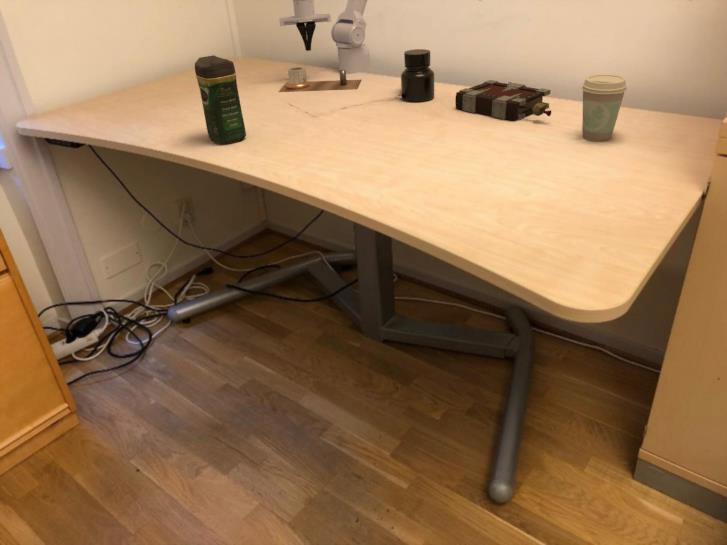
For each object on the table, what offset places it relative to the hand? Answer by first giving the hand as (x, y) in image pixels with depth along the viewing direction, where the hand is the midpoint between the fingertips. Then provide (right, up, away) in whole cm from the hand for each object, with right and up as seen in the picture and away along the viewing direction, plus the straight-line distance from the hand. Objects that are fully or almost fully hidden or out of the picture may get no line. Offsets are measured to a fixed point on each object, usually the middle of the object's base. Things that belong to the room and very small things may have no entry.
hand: (308, 50), depth 171 cm
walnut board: (+4, -12, 0) cm, 13 cm away
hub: (-3, -11, 0) cm, 11 cm away
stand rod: (+10, -11, -2) cm, 15 cm away
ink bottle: (+31, -18, -13) cm, 38 cm away
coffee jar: (-16, -34, -32) cm, 49 cm away
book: (+53, -26, -28) cm, 65 cm away
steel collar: (-3, -10, -1) cm, 10 cm away
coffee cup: (+66, -37, -47) cm, 89 cm away
